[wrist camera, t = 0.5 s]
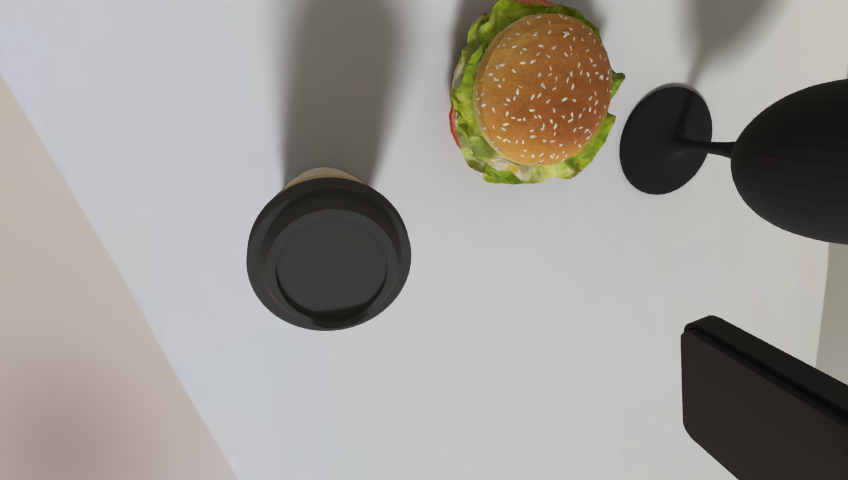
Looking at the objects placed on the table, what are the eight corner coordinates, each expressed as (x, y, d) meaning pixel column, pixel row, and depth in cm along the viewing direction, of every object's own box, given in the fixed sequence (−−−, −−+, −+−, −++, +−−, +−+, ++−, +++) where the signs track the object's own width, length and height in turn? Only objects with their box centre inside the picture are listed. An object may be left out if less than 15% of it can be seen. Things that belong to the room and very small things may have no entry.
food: (413, 155, 37) (438, 168, 29) (468, -18, 34) (512, -52, 26) (546, 198, 41) (597, 219, 34) (606, 48, 38) (676, 35, 31)
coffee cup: (259, 158, 34) (222, 196, 20) (373, 147, 36) (412, 176, 22) (279, 264, 37) (258, 364, 23) (384, 250, 38) (424, 332, 25)
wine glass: (724, 100, 42) (1043, 98, 24) (686, 202, 45) (947, 271, 27) (640, 74, 39) (929, 49, 21) (604, 185, 42) (834, 249, 24)
